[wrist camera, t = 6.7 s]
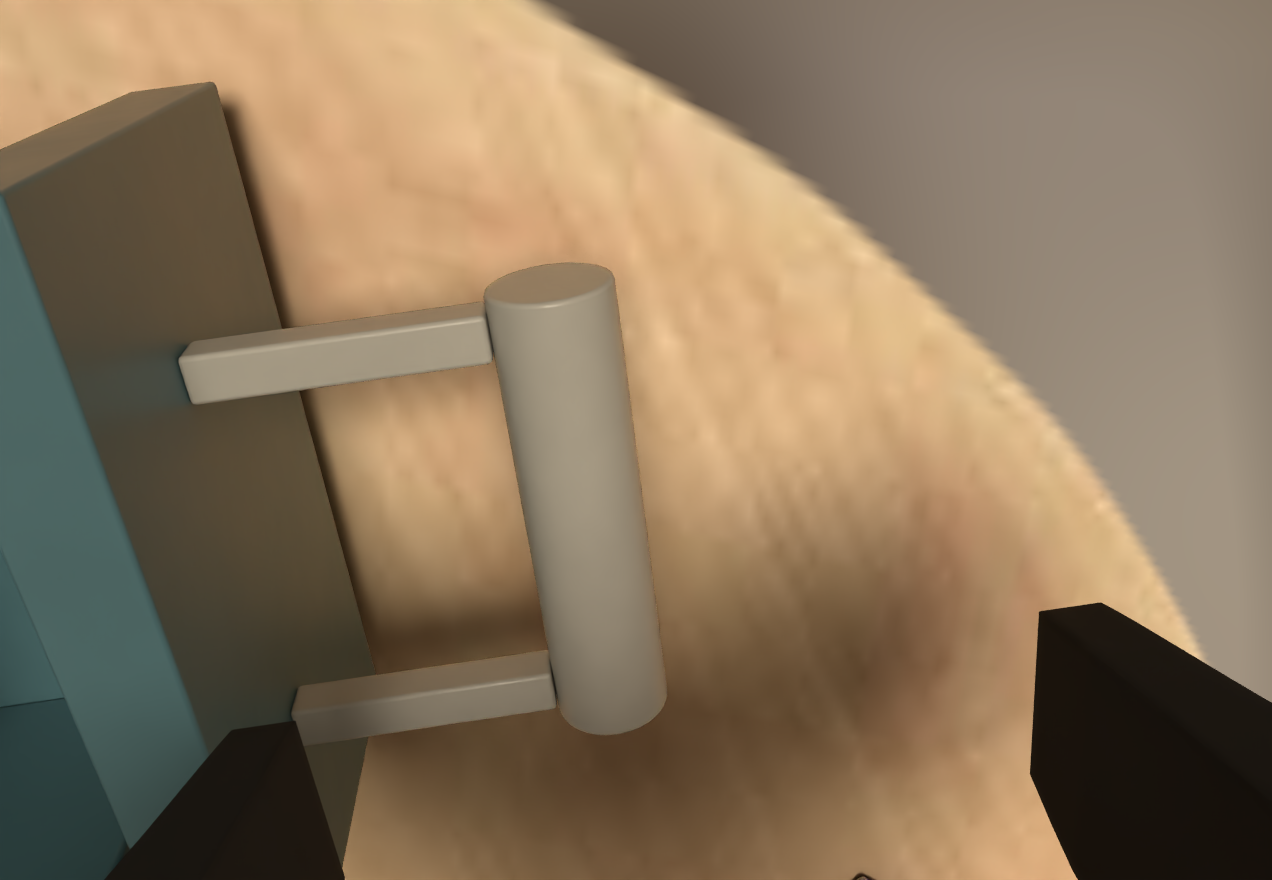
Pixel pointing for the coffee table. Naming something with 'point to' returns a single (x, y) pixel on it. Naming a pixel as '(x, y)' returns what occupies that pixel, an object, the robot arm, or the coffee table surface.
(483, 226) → the coffee table surface
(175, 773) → the drawer
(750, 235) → the coffee table surface
